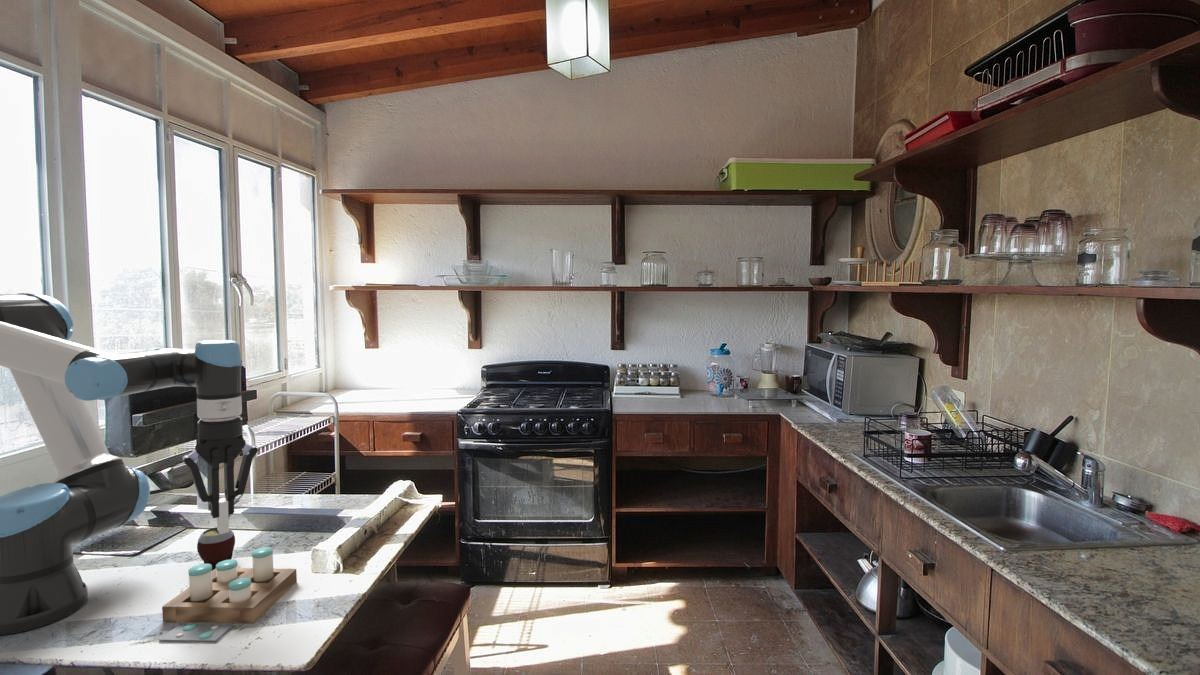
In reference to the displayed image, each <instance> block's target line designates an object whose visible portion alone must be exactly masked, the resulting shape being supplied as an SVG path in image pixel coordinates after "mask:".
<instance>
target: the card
mask: <svg viewBox="0 0 1200 675" xmlns="http://www.w3.org/2000/svg"><path fill="white" fill-rule="evenodd" d="M234 627H235V623H194V622H179V623H178V624H177V625H176V626H175V627H174V628H172V629H171V630H169V631H168V632H167V633H166V634H164V636H162V637H161V638H159V640H158V642H159V643H203V644H204V643H213V644H214V643H215V644H216V643H217V642H219V640H221V639H222V638H223V637H224V636H225V635H226V634H228V632H230V630H232V628H234Z"/></svg>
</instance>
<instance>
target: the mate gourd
mask: <svg viewBox="0 0 1200 675" xmlns="http://www.w3.org/2000/svg"><path fill="white" fill-rule="evenodd" d="M238 496H239V497H238ZM238 496H237V498H235V500H234V506H235V505H236V504H237V502H239V500H240V499H241V498H243V496H244V493H243V494H242V495H238ZM230 517H231V515H228V518H229V519H230ZM235 544H236V536H235V533H234V531H233V530H232V529H231V528H230V527H229V532H228V533H223V534H220V533H219V532H218V530H217V526H214V527H211V528H208V529H206V530H204V531H203V532H202V533H201V534H200V536H199V538H198V540H197V544H196V549H197V553H198V555H199V557H200V559H201V560H202V561H203V563H202V564H211V565H212V571H213V570H214V569H216V564H218V563H219V562H221V561H224V560H230V559H233V555H234V554H233V552H234V549H235V546H236V545H235Z"/></svg>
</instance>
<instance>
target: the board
mask: <svg viewBox="0 0 1200 675" xmlns="http://www.w3.org/2000/svg"><path fill="white" fill-rule="evenodd" d="M273 573H274V576H273V577H272V578H271V579H269V580H266V581H262V582H256V581H254V580H253V567H252V568H251V567H250V568H249V567H248V568H246V567H245V568H244V567H237V574H238V578H236V579H239V578H250V579H251V598H250V599H249V600H248V601H247V602H246V603H229V589H228V584H229V583H224V582H217V576H216V568H215V569H214V570H213V571H212V585H213V595H212V596H211V597H209V598H207V599H205V600H201V601H191V600H190V586H189V587H187V588H186V589H184V590H183V591H182V592H180V593H179V594H178V595H176V596H174V598H172V599H171V600H170V601H168V602H166V603H165V604H164V605H162V606H161V610H162V613H161V614H162V623H199V624H254V623H256V622H257V621H258V620H259V619H260V618H261V617H262V616H263V615H264V614H265V613H266V612H267V611H268V610H270V608H272V606H274V605H275V604H276V603H277V602H278V601H279V600H280V599H282V597H283V596H284V595H285V594H287V592H289V591H290V590H291V589H292V588H293V587H294V586H295V585H296V584H297V583H298V581H297V580H298V578H297V575H298V574H297V568H273ZM236 579H235V580H236Z"/></svg>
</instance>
